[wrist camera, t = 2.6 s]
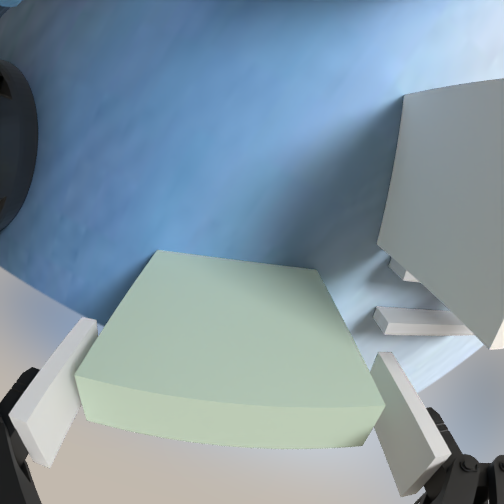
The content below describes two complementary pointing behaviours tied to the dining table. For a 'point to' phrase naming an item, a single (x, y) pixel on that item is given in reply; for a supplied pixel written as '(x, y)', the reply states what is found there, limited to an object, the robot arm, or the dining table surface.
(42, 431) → the robot arm
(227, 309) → the door
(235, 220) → the dining table surface
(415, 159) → the cabinet
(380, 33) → the dining table surface
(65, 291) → the dining table surface
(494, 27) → the dining table surface
